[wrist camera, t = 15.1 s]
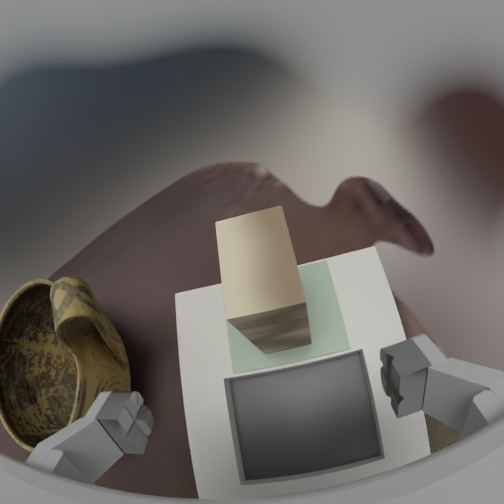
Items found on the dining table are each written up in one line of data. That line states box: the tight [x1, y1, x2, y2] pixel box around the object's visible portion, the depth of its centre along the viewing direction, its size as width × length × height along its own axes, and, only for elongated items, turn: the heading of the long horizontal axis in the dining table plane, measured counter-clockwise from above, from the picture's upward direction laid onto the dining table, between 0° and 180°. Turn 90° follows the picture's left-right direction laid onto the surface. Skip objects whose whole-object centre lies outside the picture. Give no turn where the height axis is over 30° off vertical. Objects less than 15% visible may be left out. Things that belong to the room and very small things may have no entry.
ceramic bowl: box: [0, 276, 131, 452], centre depth 21 cm, size 22×17×15 cm
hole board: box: [175, 246, 431, 499], centre depth 23 cm, size 20×22×2 cm
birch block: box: [215, 206, 312, 354], centre depth 20 cm, size 4×6×11 cm, turn 9°
